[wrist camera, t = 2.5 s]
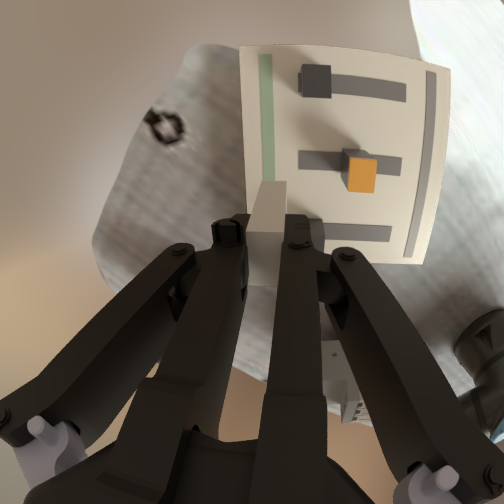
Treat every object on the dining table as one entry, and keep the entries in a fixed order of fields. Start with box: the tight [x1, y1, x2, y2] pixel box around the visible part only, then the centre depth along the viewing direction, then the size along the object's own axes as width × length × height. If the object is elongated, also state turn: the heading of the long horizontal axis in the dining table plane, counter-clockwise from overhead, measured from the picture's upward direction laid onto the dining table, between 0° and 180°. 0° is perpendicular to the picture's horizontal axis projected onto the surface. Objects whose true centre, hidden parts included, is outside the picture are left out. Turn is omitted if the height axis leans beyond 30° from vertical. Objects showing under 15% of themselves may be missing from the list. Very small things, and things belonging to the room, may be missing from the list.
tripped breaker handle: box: [340, 148, 377, 193], centre depth 25 cm, size 2×3×5 cm
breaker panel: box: [239, 45, 451, 264], centre depth 27 cm, size 22×24×9 cm
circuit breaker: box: [321, 340, 371, 423], centre depth 40 cm, size 8×14×15 cm, turn 97°
